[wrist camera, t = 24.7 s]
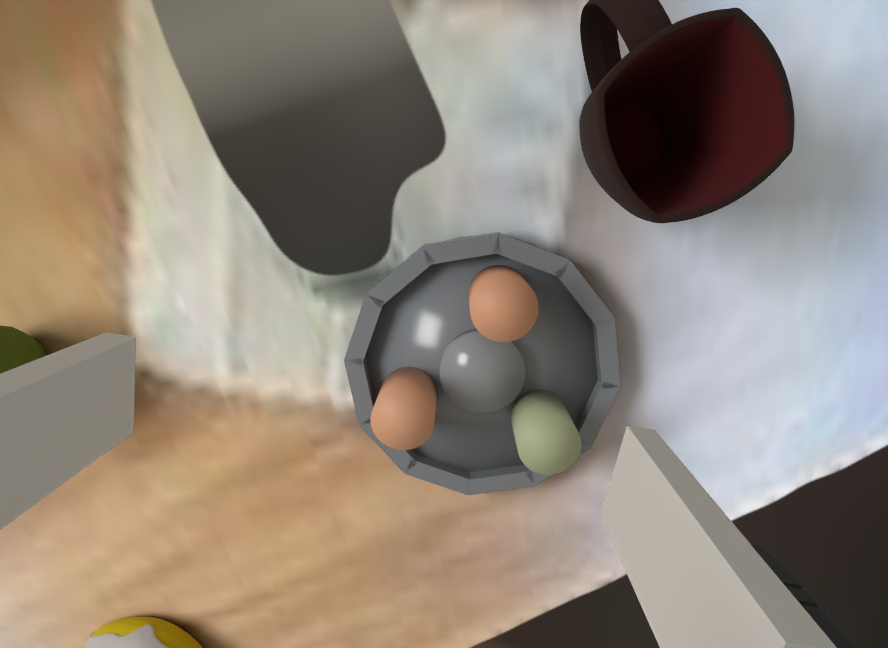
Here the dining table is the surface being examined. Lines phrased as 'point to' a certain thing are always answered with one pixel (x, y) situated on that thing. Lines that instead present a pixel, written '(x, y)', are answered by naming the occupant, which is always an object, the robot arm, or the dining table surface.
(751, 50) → the mug
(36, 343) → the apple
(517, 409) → the olive bead
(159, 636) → the donut
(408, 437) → the terracotta bead
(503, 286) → the terracotta bead
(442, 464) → the groove tray
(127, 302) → the dining table surface
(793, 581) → the robot arm
